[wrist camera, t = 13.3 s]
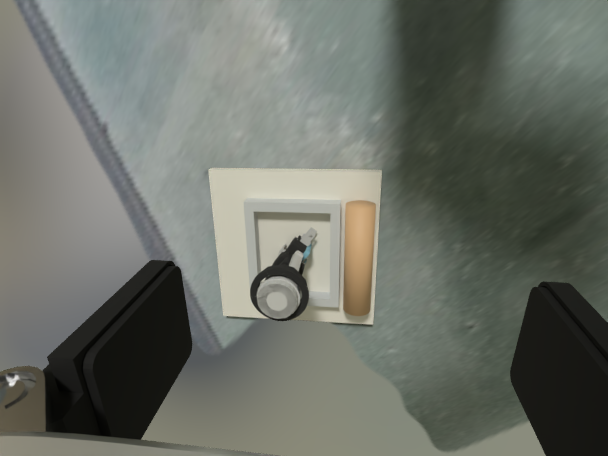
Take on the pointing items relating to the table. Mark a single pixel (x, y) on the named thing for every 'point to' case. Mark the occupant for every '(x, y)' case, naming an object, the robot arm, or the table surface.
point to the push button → (284, 282)
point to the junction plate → (291, 223)
